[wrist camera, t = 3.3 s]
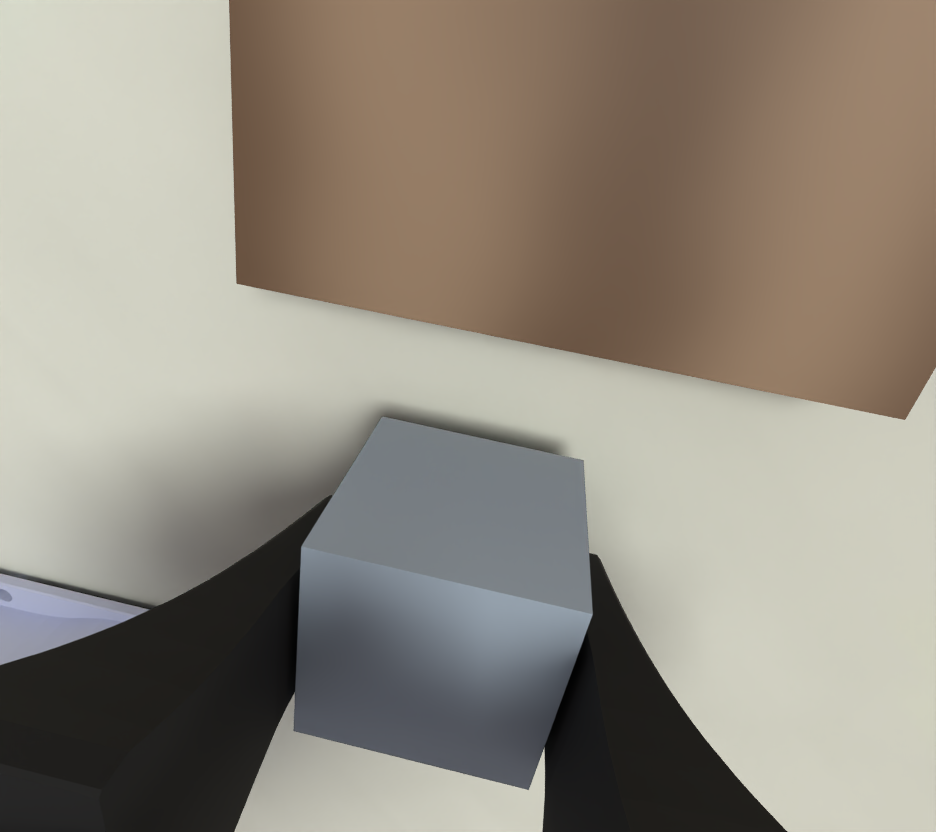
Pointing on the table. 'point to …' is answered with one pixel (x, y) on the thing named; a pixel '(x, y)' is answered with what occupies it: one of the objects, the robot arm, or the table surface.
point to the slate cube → (444, 601)
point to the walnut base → (606, 178)
